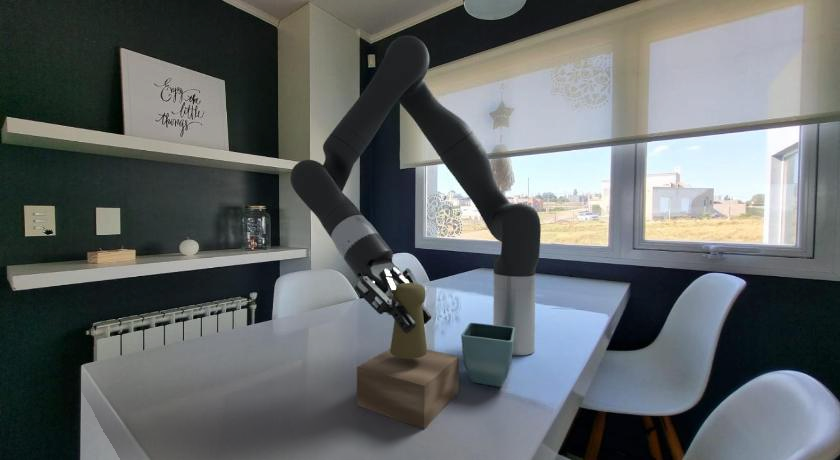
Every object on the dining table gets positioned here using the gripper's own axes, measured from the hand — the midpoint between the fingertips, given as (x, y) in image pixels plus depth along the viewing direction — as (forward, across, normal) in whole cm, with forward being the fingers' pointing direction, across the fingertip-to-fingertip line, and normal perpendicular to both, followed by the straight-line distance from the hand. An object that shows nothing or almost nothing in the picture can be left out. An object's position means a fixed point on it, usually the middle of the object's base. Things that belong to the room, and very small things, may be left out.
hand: (419, 325), depth 52 cm
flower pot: (+14, +13, +4) cm, 19 cm away
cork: (+2, 0, +5) cm, 5 cm away
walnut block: (+8, 0, +10) cm, 12 cm away
